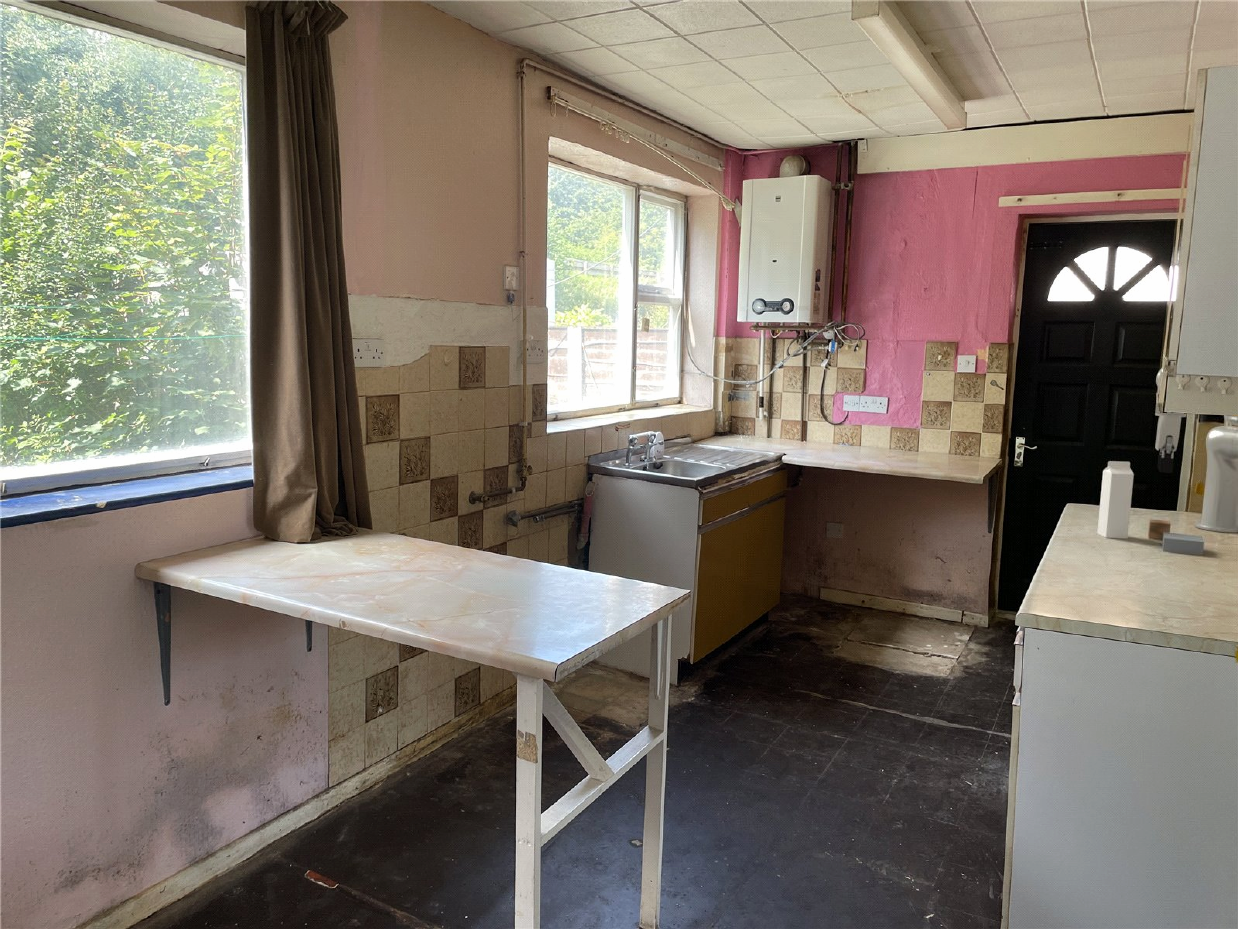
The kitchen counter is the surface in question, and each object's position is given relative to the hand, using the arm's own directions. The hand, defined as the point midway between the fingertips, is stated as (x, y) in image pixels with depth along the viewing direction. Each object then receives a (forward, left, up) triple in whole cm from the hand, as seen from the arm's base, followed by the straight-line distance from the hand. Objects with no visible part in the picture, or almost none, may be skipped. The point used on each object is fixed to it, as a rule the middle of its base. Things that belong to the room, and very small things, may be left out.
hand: (1164, 470), depth 250 cm
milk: (+11, -5, -20) cm, 24 cm away
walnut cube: (0, 0, -20) cm, 20 cm away
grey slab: (+7, +14, -20) cm, 25 cm away
